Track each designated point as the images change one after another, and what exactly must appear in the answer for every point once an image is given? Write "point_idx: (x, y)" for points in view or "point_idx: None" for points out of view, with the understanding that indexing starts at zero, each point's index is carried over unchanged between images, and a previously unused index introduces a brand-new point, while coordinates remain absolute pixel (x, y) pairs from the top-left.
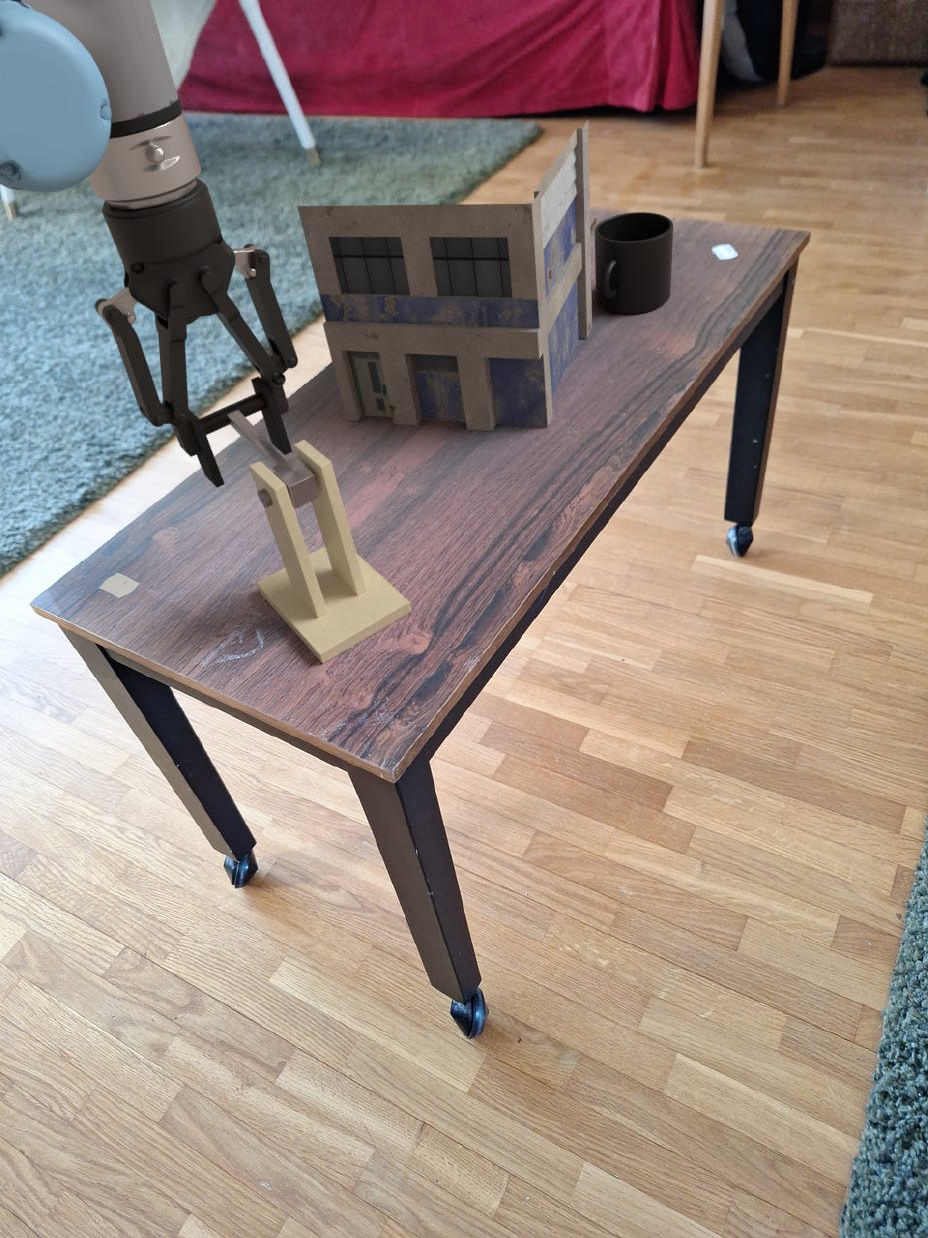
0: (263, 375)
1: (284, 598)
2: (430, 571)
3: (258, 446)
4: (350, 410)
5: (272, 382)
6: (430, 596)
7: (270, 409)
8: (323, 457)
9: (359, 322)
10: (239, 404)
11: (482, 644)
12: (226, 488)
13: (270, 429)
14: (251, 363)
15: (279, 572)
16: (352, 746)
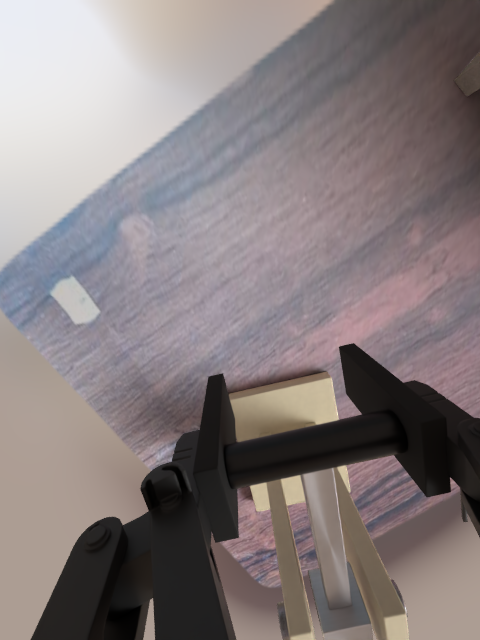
0: (463, 475)
1: (248, 436)
2: None
3: (323, 563)
4: (476, 79)
5: (464, 511)
6: (368, 472)
7: (394, 455)
8: None
9: None
10: (344, 464)
11: (376, 533)
12: (232, 163)
13: (357, 380)
14: (474, 457)
15: (253, 398)
16: (251, 572)
